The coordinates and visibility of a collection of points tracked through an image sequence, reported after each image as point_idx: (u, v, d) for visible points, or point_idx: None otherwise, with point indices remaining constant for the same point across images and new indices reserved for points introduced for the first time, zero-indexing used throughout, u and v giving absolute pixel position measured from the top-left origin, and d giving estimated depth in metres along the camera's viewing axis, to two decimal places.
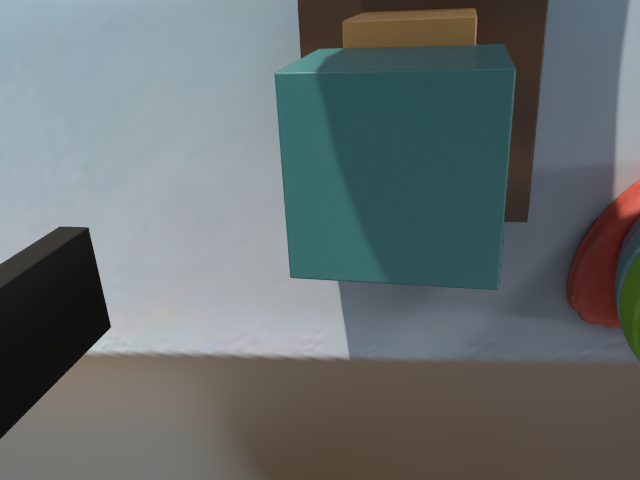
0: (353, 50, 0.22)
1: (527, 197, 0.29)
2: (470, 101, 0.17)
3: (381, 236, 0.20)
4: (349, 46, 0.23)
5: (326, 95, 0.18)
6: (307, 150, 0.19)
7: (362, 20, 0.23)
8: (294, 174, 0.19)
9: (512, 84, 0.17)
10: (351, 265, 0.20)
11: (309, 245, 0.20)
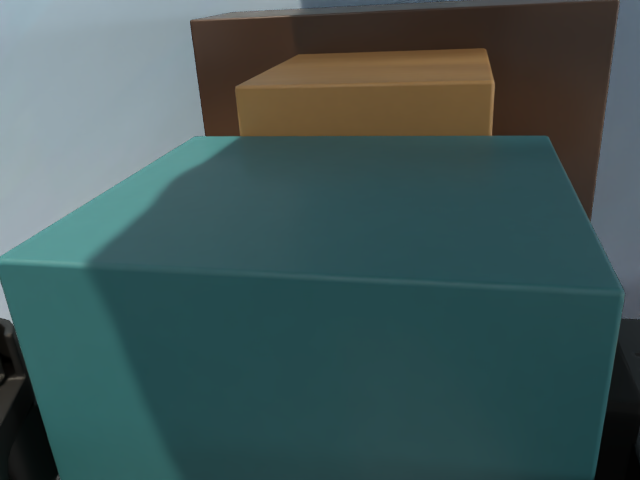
0: (251, 147, 0.11)
1: None
2: (489, 362, 0.06)
3: None
4: (250, 132, 0.12)
5: (123, 319, 0.07)
6: (99, 427, 0.08)
7: (272, 85, 0.12)
8: (80, 468, 0.08)
9: (613, 330, 0.06)
10: None
11: None
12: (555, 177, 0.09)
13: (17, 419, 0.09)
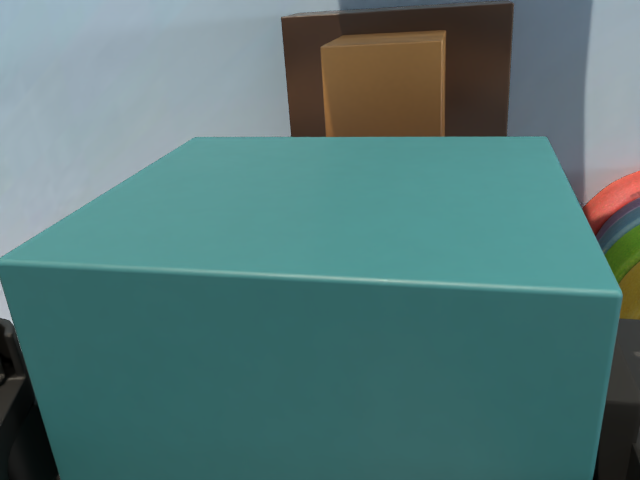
0: (250, 148, 0.11)
1: None
2: (489, 364, 0.06)
3: None
4: (327, 69, 0.25)
5: (123, 320, 0.07)
6: (99, 427, 0.08)
7: (338, 45, 0.25)
8: (80, 468, 0.08)
9: (610, 332, 0.06)
10: None
11: None
12: (554, 178, 0.09)
13: (17, 419, 0.09)
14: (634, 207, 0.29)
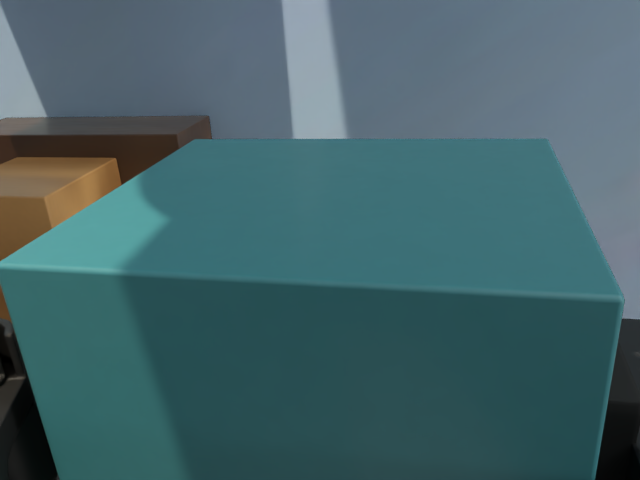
0: (251, 150, 0.11)
1: None
2: (490, 368, 0.06)
3: None
4: None
5: (123, 325, 0.07)
6: (100, 431, 0.08)
7: None
8: (80, 472, 0.08)
9: (612, 336, 0.06)
10: None
11: None
12: (555, 181, 0.09)
13: (17, 419, 0.09)
14: None
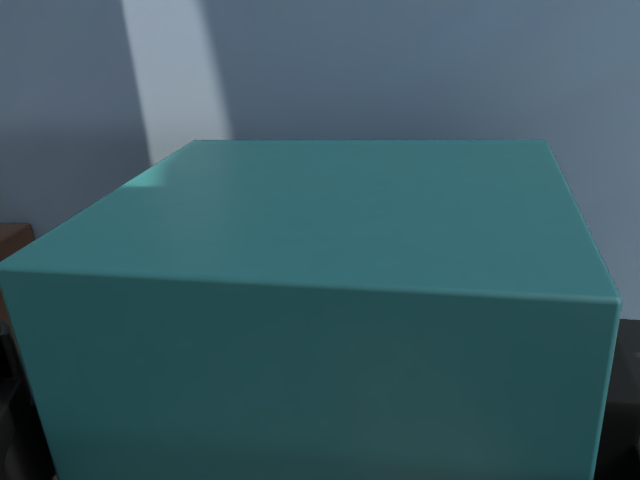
0: (250, 151, 0.11)
1: None
2: (487, 370, 0.06)
3: None
4: None
5: (122, 326, 0.07)
6: (98, 432, 0.08)
7: None
8: (79, 473, 0.08)
9: (610, 338, 0.06)
10: None
11: None
12: (553, 182, 0.09)
13: (13, 420, 0.09)
14: None
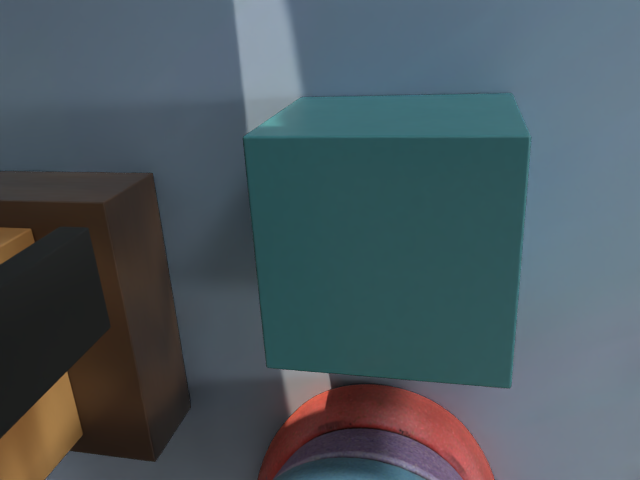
0: (339, 100, 0.19)
1: (148, 436, 0.24)
2: (475, 173, 0.14)
3: (371, 324, 0.17)
4: None
5: (304, 164, 0.15)
6: (283, 226, 0.16)
7: None
8: (268, 252, 0.16)
9: (526, 153, 0.14)
10: (336, 357, 0.17)
11: (287, 333, 0.17)
12: (511, 107, 0.17)
13: None
14: (298, 461, 0.22)
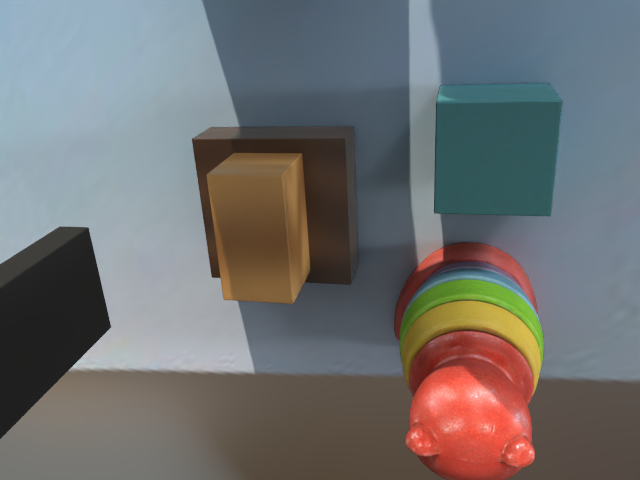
0: (463, 87, 0.39)
1: (349, 269, 0.44)
2: (539, 117, 0.34)
3: (488, 188, 0.37)
4: (211, 188, 0.38)
5: (463, 114, 0.35)
6: (450, 142, 0.36)
7: (218, 174, 0.38)
8: (442, 155, 0.36)
9: (560, 108, 0.34)
10: (469, 205, 0.37)
11: (446, 194, 0.37)
12: (551, 89, 0.37)
13: None
14: (435, 274, 0.42)
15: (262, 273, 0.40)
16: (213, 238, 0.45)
